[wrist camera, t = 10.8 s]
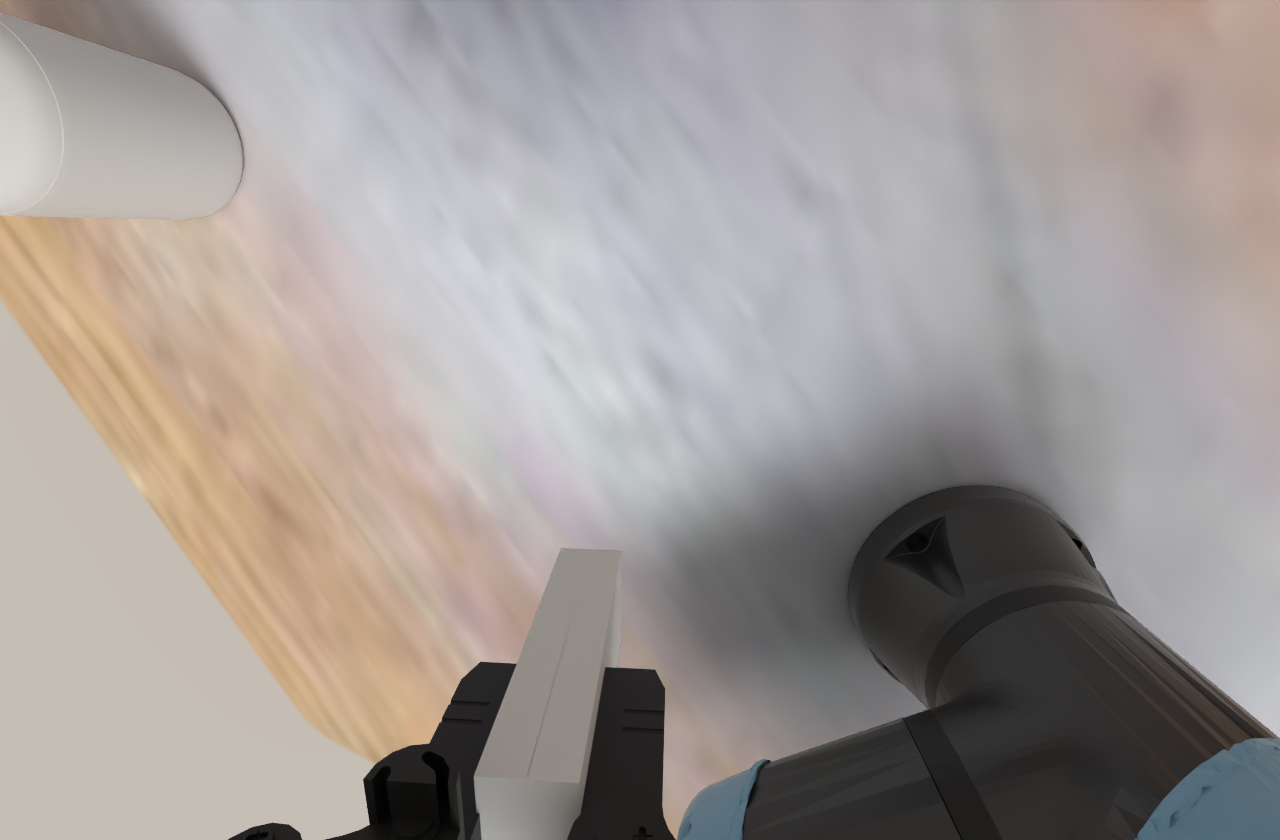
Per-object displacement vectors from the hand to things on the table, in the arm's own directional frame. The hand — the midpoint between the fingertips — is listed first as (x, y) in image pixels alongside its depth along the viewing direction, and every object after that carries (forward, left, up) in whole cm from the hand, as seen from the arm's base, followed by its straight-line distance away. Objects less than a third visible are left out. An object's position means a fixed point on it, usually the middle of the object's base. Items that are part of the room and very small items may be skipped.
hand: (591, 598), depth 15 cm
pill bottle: (+26, -13, -24) cm, 38 cm away
